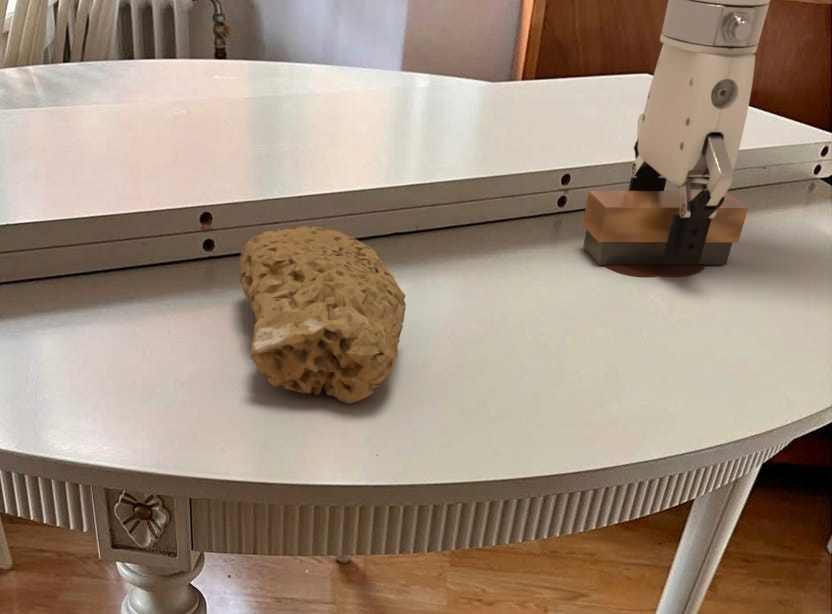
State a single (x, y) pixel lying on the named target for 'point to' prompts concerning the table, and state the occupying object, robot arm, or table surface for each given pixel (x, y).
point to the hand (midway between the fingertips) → (658, 241)
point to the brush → (652, 227)
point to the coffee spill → (657, 270)
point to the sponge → (321, 311)
